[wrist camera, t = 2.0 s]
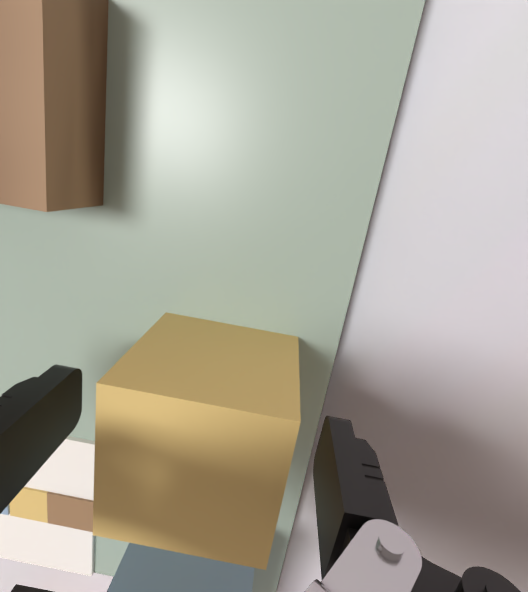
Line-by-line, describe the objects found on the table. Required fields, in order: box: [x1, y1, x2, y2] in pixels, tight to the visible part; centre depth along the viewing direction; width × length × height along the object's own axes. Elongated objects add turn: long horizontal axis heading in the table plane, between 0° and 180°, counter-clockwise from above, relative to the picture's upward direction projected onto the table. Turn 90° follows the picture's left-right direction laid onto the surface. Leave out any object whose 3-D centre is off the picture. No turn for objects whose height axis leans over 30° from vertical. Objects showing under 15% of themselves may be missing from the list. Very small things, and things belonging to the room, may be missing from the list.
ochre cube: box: [93, 312, 301, 570], centre depth 12 cm, size 5×5×5 cm
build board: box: [0, 0, 425, 592], centre depth 14 cm, size 18×26×1 cm
